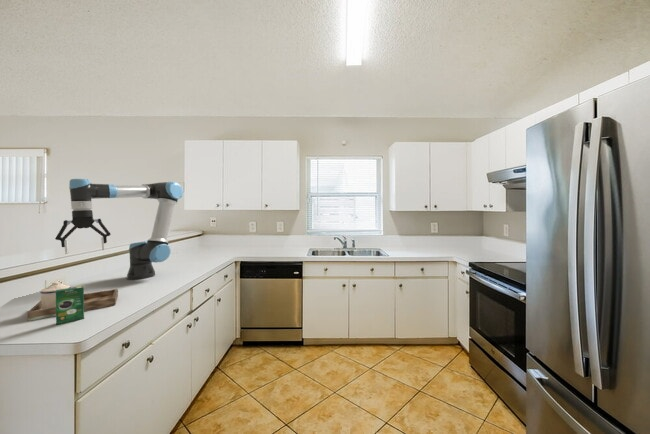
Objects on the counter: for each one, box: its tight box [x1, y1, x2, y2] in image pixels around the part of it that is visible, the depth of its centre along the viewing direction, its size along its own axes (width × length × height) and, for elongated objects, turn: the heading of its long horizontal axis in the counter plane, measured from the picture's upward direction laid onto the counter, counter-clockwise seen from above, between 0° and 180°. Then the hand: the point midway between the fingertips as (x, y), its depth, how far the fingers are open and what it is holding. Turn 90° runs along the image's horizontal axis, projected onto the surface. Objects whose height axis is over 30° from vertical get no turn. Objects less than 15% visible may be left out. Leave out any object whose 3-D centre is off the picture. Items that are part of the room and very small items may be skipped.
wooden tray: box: [26, 288, 119, 322], centre depth 116 cm, size 27×17×4 cm, turn 126°
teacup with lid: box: [40, 281, 72, 309], centre depth 113 cm, size 12×9×12 cm
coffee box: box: [55, 285, 85, 325], centre depth 101 cm, size 8×3×13 cm, turn 136°
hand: (85, 251), depth 129 cm, fingers open, 13 cm apart
